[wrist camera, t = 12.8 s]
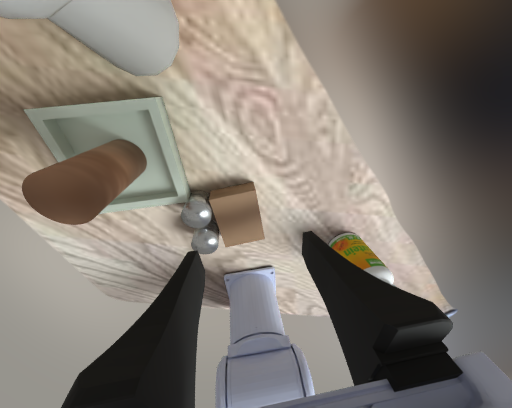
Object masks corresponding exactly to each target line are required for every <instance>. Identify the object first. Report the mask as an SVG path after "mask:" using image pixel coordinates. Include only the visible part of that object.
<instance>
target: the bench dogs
mask: <svg viewBox="0 0 512 408" xmlns="http://www.w3.org/2000/svg"><path fill="white" fill-rule="evenodd" d="M209 197H210V195H209V194H208V193H206V192H204V191H194V192H192V193H191V194H190V197H189V200H188V201H187V202H185V205H184V207H183V210H182V212H181V218H182V220H183V222H184V223H185V224H186V225H188V226H190V227H192V228H195V230H194V235H193V239H192V243H191V246H192V248H193V250H194V251H196V250H198V253H200V254H210V253H213V252H214V251H216V249H217V248H218V241H219V227H218V224H217V223H216V222H215V221H213V220H211V215H212V207H211V204H210V201H209Z"/></svg>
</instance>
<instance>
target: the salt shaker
mask: <svg viewBox="0 0 512 408" xmlns="http://www.w3.org/2000/svg"><path fill="white" fill-rule="evenodd" d="M0 17H4V18H8V19H38V18H47V19H49V20H50V21H52V22H53V23H54V24H56V25H57V26H59V27H60V28H62V29H63V30H64V31H66V32H67V33H69V34H70V35H72V36H73V37H74V38H76V39H77V40H79V41H80V42H82V43H83V44H84V45H86V46H87V47H89V48H90V49H92V50H93V51H94V52H96V53H97V54H99V55H100V56H102V57H103V58H104V59H106V60H107V61H109V62H110V63H112V64H113V65H114V66H116V67H118V68H120V69H122V70H124V71H127V72H129V73H131V74H133V75H135V76H150V75H158V74H159V73H161V72H162V71H164V70H165V69H167V68H168V67H170V66H171V65H172V62H173V60H174V58H175V56H176V53H177V51H178V49H179V23H178V19H177V17H176V14H175V11H174V8H173V5H172V3H171V0H0Z"/></svg>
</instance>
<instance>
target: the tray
mask: <svg viewBox="0 0 512 408" xmlns="http://www.w3.org/2000/svg"><path fill="white" fill-rule="evenodd" d="M24 111H25V113H26V114H27V116H28V117H29V119H30V120H31V122H32V123H33V125H34V126H35V128H36V130H37V131H38V133H39V134H40V136H41V137H42V139H43V140H44V142H45V143H46V145H47V146H48V148H49V149H50V151H51V152H52V154H53V155H54V157H55V158H56V160H57V161H58V163H59V162H61V161H64V160H66V159H69V158H71V157H74V156H76V155H78V154H81V153H83V152H86V151H88V150H91V149H93V148H96V147H98V146H101V145H103V144H105V143H108V142H110V141H113V140H117V139H122V140H127V141H130V142H132V143H134V144H135V145H137V146H138V147H139V148H140V149H141V150H142V151H143V153H144V154H145V157H146V160H147V166H146V169H145V171H144V172H143V173H142V174H141V175H140V176H139V177H138V178H137V179H135V180H134V181H133V182H132V183H131V184H130V185H129V186H128V187H127V188H126V189H125V190H124V191H123V192H122V193H120V194H119V195H118V196H117V197H116V198H115V199H114V200H113V201H112V202H111V203H110V204H109V205H108V206H107V207H105V208H104V209H103V210H102V211H101V212H100V213H99V214H102V213H109V212H117V211H124V210H132V209H139V208H147V207H154V206H161V205H169V204H176V203H184V202H187V201H188V200H189V197H190V194H191V191H190V188H189V185H188V181H187V178H186V175H185V171H184V168H183V165H182V162H181V158H180V155H179V152H178V148H177V145H176V142H175V138H174V135H173V132H172V128H171V125H170V122H169V118H168V115H167V112H166V108H165V105H164V102H163V98H162V97H153V98H142V99H131V100H120V101H110V102H99V103H88V104H78V105H67V106H56V107H45V108H35V109H24Z"/></svg>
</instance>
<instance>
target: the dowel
mask: <svg viewBox="0 0 512 408" xmlns="http://www.w3.org/2000/svg"><path fill="white" fill-rule="evenodd" d="M146 166H147V160H146V157H145V154H144V153H143V151H142V150H141V149H140V148H139V147H138V146H137V145H135V144H134V143H132V142H130V141H127V140H122V139H117V140H113V141H110V142H108V143H105V144H103V145H101V146H98V147H96V148H93V149H91V150H88V151H86V152H83V153H81V154H78V155H76V156H74V157H71V158H69V159H66V160H64V161H61V162H59V163H56V164H54V165H52V166H49V167H47V168H44V169H42V170H39V171H37V172H34V173H32V174H30V175H28V176H27V177H26V178H25V180H24V181H23V184H22V191H23V195H24V197H25V199H26V200H27V202H28V203H29V204H30V206H31V207H32V208H33V209H35V210H36V211H37V212H38V213H40V214H41V215H43V216H45V217H47V218H49V219H51V220H53V221H56V222H59V223H64V224H71V225H78V224H84V223H87V222H89V221H91V220H92V219H94V218H95V217H96V216H97V215H98V214H99V213H100V212H101V211H102V210H103V209H104V208H105V207H107V206H108V205H109V204H110V203H111V202H112V201H113V200H114V199H115V198H116V197H117V196H118V195H119V194H120V193H122V192H123V191H124V190H125V189H126V188H127V187H128V186H129V185H130V184H131V183H132V182H133V181H134V180H135V179H137V178H138V177H139V176H140V175H141V174H142V173H143V172H144V171H145V169H146Z"/></svg>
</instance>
